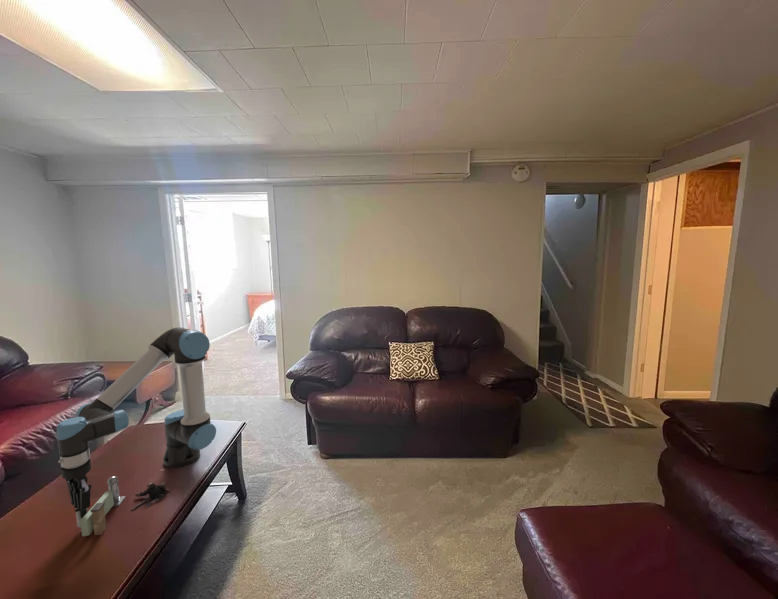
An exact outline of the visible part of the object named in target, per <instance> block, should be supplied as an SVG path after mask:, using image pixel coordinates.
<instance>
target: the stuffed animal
mask: <svg viewBox="0 0 778 599" xmlns="http://www.w3.org/2000/svg"><path fill="white" fill-rule="evenodd" d="M169 492H170V489H169V488H168V487H166V481H162V483H161V484H156V483H155V482H150V483H147V486H146V489H145V490H143V491H141V492H136V493H134V496H135V497H136V498H140V497H142V500H143V501H142V502H140V503H138V504H137V505H135V506H134V507H133V508H131V509H130V511H135V510H137V509H138V508H139V507H142V505H144V504H145V503H146V505H145V507H148V506H150V505H152V504H154V503H156V502H158V501H160V500H162V499H163V498H165V497H166V496H167V493H169ZM147 496H148V497H147ZM151 500H152V501H151Z"/></svg>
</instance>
